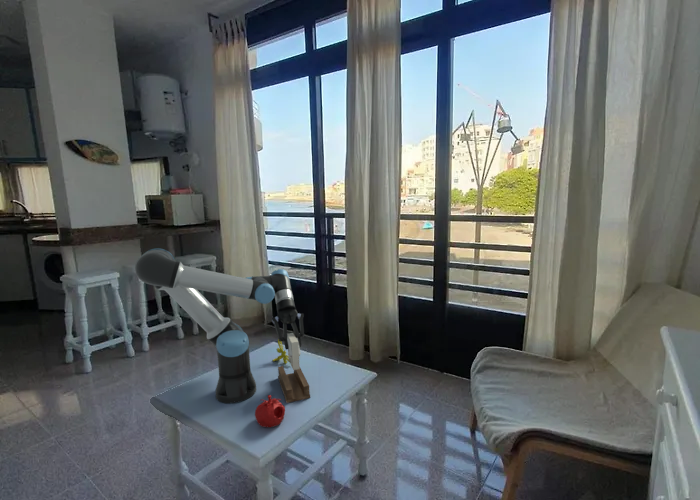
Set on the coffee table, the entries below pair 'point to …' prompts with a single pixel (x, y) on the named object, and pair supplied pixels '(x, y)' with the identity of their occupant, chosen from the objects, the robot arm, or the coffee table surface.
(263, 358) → the coffee table surface
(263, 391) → the coffee table surface
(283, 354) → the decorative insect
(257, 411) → the pomegranate
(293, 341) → the cream rectangular block
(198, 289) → the robot arm
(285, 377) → the rack
